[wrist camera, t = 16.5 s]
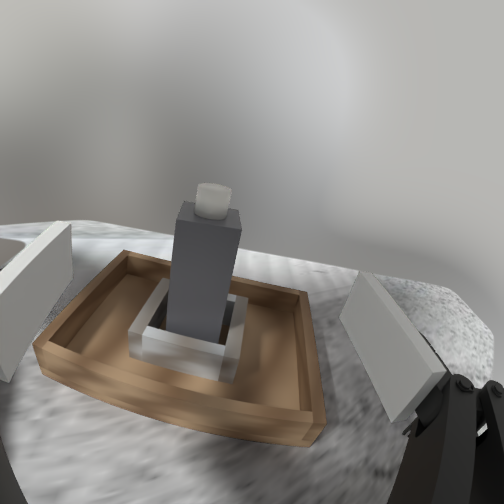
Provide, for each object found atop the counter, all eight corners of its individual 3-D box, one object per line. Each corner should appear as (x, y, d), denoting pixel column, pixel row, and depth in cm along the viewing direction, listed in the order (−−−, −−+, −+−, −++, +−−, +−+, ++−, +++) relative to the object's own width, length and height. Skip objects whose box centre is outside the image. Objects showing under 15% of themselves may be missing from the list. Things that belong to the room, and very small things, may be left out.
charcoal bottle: (164, 351, 24) (180, 189, 19) (170, 320, 28) (187, 176, 23) (214, 358, 25) (247, 201, 19) (215, 327, 29) (243, 186, 23)
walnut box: (42, 374, 18) (30, 339, 17) (123, 275, 35) (124, 245, 33) (309, 447, 19) (329, 419, 17) (298, 316, 36) (308, 288, 34)
